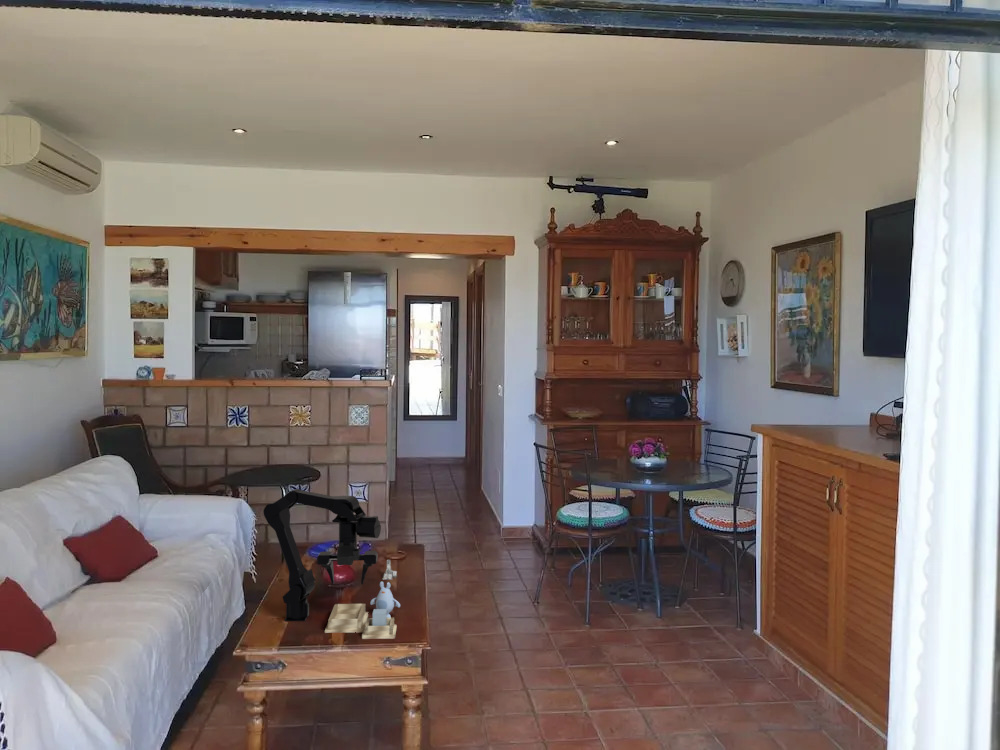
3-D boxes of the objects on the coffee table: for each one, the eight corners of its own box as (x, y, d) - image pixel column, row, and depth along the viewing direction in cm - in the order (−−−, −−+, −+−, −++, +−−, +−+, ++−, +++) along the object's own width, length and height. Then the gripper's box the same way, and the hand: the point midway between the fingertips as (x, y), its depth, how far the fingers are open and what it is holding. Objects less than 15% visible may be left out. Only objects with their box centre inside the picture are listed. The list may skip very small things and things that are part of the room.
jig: (322, 639, 231) (322, 626, 231) (332, 615, 252) (332, 603, 252) (394, 638, 232) (394, 625, 232) (398, 614, 253) (398, 602, 253)
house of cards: (404, 583, 288) (404, 563, 287) (381, 583, 287) (381, 563, 287) (406, 576, 297) (406, 557, 296) (383, 576, 296) (384, 557, 296)
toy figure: (366, 619, 248) (366, 583, 248) (373, 613, 254) (373, 577, 254) (396, 622, 246) (396, 586, 245) (403, 616, 252) (403, 580, 252)
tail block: (372, 632, 234) (372, 613, 234) (373, 627, 238) (373, 609, 238) (385, 632, 235) (385, 613, 234) (386, 627, 239) (386, 608, 238)
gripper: (314, 542, 234) (314, 592, 235) (374, 542, 236) (374, 591, 236) (319, 534, 245) (319, 581, 246) (377, 533, 247) (377, 580, 247)
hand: (347, 584), depth 244 cm, fingers open, 9 cm apart
